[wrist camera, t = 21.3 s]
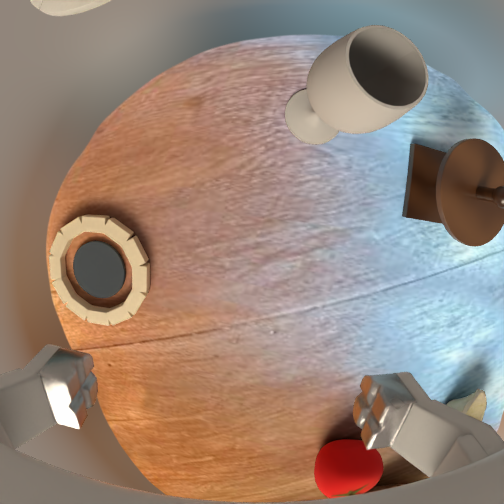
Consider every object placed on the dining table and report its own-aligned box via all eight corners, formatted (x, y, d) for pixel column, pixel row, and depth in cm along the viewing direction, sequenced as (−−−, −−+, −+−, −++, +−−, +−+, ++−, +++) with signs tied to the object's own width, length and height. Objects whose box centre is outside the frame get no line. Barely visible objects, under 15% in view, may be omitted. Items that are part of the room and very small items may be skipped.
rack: (403, 132, 36) (475, 121, 22) (469, 153, 37) (542, 155, 22) (392, 224, 39) (460, 252, 25) (459, 234, 40) (528, 262, 25)
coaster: (73, 238, 38) (71, 239, 38) (125, 242, 39) (123, 243, 38) (77, 292, 40) (75, 294, 40) (126, 300, 41) (125, 301, 40)
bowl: (478, 406, 51) (499, 431, 41) (428, 440, 52) (446, 470, 42) (475, 365, 47) (503, 392, 37) (419, 405, 48) (442, 439, 39)
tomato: (348, 417, 48) (367, 464, 37) (381, 444, 51) (400, 484, 39) (293, 452, 49) (302, 499, 38) (332, 474, 52) (344, 515, 41)
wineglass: (270, 109, 35) (305, 44, 15) (317, 77, 34) (388, 0, 14) (309, 158, 37) (384, 146, 17) (354, 124, 36) (456, 90, 16)
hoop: (53, 212, 37) (47, 213, 36) (151, 218, 38) (147, 220, 36) (60, 311, 41) (55, 315, 39) (150, 326, 42) (147, 331, 40)
